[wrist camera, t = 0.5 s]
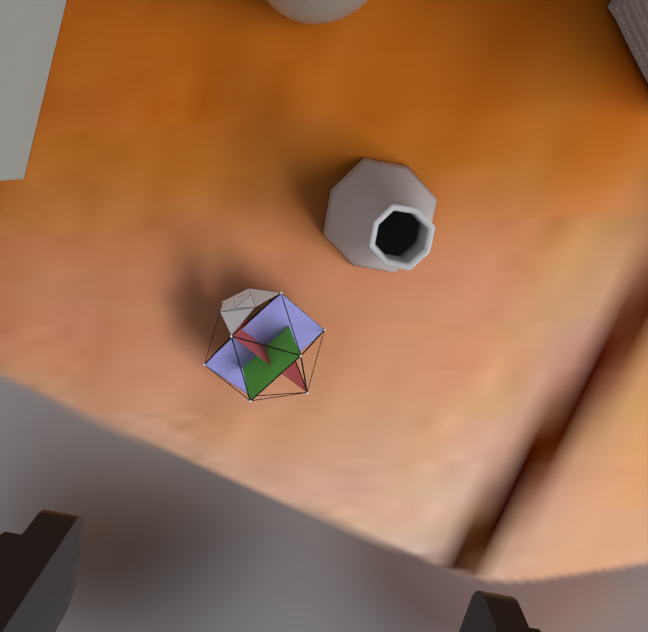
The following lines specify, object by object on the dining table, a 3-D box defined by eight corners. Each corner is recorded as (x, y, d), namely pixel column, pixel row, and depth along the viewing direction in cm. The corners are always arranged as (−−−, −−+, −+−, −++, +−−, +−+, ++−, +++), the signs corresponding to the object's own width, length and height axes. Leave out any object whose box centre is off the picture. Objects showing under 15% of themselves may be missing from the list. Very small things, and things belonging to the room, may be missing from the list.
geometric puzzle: (360, 363, 37) (308, 343, 30) (285, 428, 38) (218, 424, 31) (301, 287, 40) (242, 252, 33) (234, 349, 41) (162, 329, 34)
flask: (304, 239, 37) (300, 268, 27) (357, 137, 35) (372, 130, 26) (399, 289, 38) (427, 334, 28) (455, 192, 36) (505, 205, 27)
